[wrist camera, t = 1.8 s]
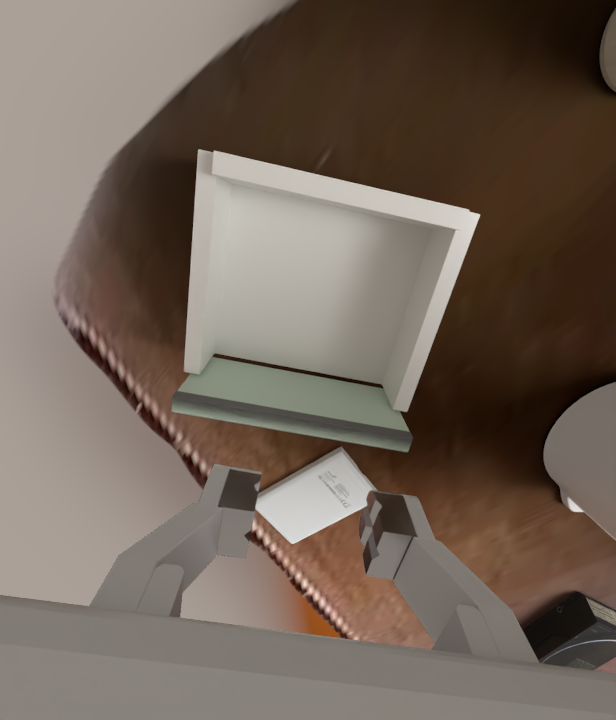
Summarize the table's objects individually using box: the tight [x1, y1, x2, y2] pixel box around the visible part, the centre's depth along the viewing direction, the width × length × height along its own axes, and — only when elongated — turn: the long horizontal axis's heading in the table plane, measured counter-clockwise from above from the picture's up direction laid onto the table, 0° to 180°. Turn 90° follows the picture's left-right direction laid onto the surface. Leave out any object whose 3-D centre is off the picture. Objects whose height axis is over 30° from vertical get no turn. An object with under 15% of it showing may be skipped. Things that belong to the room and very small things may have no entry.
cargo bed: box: [184, 149, 480, 412], centre depth 26 cm, size 18×15×7 cm
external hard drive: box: [255, 447, 377, 544], centre depth 38 cm, size 2×8×12 cm
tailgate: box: [172, 357, 413, 453], centre depth 27 cm, size 17×1×8 cm, turn 78°
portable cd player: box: [523, 592, 616, 673], centre depth 48 cm, size 16×17×4 cm
